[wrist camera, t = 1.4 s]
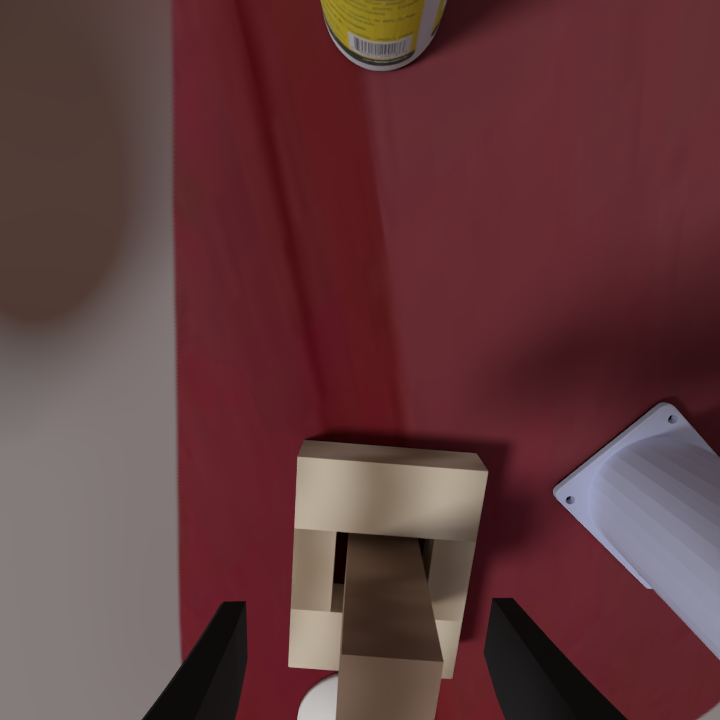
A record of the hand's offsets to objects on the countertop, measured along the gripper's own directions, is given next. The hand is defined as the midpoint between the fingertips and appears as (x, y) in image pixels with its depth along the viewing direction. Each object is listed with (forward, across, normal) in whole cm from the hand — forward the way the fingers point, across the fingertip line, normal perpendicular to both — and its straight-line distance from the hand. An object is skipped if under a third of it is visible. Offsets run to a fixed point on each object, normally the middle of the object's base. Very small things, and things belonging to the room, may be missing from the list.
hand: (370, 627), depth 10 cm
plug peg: (+10, -2, +7) cm, 13 cm away
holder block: (+10, -2, +6) cm, 12 cm away
